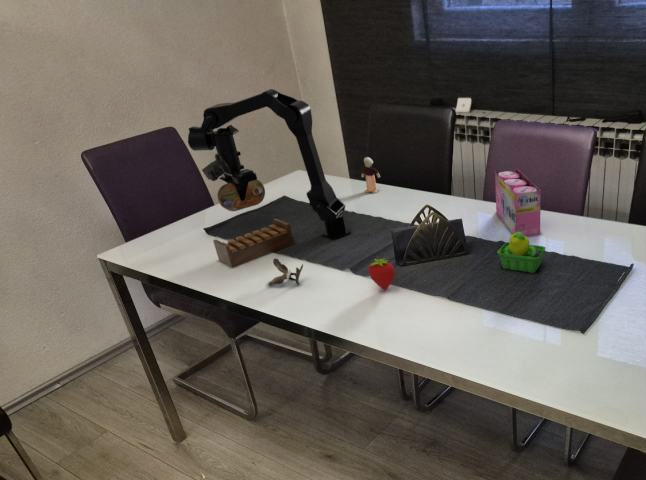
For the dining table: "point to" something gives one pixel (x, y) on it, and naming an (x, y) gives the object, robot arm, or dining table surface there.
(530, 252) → the fruit basket
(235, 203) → the tin
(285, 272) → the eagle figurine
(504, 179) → the gum box
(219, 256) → the rack
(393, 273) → the strawberry
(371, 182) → the grandmother figurine
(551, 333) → the dining table surface
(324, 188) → the robot arm
